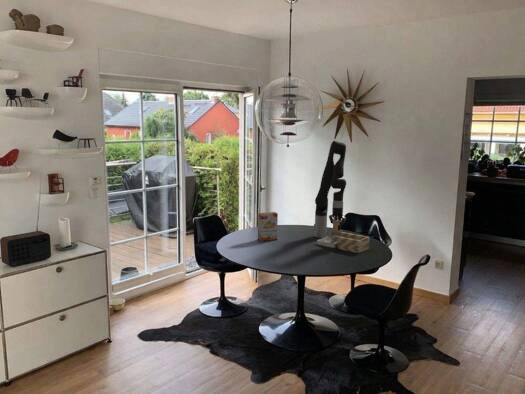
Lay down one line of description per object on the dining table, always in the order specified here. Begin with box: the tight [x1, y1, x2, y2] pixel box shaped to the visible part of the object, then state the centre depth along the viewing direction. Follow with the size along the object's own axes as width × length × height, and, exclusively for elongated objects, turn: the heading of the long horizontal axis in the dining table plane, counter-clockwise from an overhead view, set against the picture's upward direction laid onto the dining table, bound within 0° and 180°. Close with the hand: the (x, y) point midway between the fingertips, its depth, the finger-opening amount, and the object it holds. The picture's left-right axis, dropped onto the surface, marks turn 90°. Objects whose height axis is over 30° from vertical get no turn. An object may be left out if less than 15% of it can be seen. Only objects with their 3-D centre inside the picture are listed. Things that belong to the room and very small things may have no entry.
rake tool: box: [330, 221, 342, 236], centre depth 326 cm, size 4×8×10 cm, turn 141°
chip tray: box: [316, 235, 338, 249], centre depth 331 cm, size 15×16×3 cm
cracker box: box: [257, 211, 279, 242], centre depth 339 cm, size 14×6×21 cm, turn 112°
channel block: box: [331, 231, 371, 254], centre depth 321 cm, size 22×15×8 cm
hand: (336, 229), depth 327 cm, fingers closed on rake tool, 3 cm apart
